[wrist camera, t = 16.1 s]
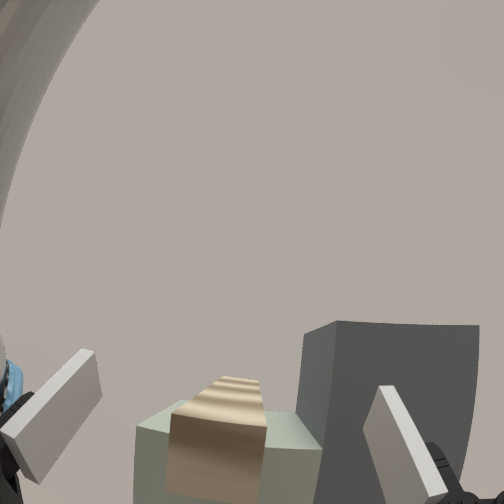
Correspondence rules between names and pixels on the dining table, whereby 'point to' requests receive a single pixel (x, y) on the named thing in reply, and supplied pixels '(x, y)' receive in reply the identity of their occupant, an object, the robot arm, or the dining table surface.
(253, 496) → the wooden bar
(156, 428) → the two-tone stepped block
